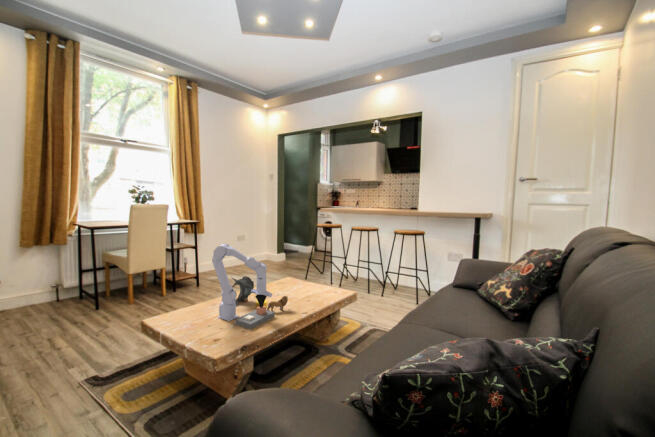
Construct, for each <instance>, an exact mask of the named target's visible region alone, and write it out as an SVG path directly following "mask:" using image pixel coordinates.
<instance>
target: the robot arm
mask: <svg viewBox="0 0 655 437" xmlns="http://www.w3.org/2000/svg"><path fill="white" fill-rule="evenodd" d="M231 256H232V257H234V258H236V259H237V260H239V261H241V262H243V263H244V265H245V266H246V267H247V268H249V269H250V270H252V271H254V272H255V274H256V286H255V287H256V288H253V289H252V290H251V294H255V299H256V300H257V303H258V307H263V306H265V301H266V299H267V297H269V298H271V297H273V293H272V292H270V291H267V270H268V266H267V264H266V263H264V262H262V261H258V260H257V259H255V257H254V256H247V255H245V254H244V253H243V252H240V251H239V250H237V249H236V248H235V247H234V246H232V245H230V244H228V243H227V242H226V243H222V244H220V245H219V246H217V247H215V249H214V250H213V256H212V261H211V263H212V265H213V268H214V271H215V273H216V277H217V279H218V282H219V285H220V288H221V292H220V293H221V302H220V304H219V307H218V312H219V314H218V316H217V318H219V319H222V320H225V321H227V322H231V321H232V320H235V319H237V318H239V317H240V315H238V314H236V312H237V308H236V307H237V306H236V301H235V299H236V298H237V297H238V296H237V292H236V290H235V289H234V287H232V286H233V285H231V283H230V280H229V277H228V273H227V270H226V268H225V265H224V262H223V260H224V258H225V257H231Z"/></svg>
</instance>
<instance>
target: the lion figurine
mask: <svg viewBox="0 0 655 437" xmlns="http://www.w3.org/2000/svg"><path fill="white" fill-rule="evenodd" d="M288 300H289V298H288V296H287V295H283V296H281V298H280V299H279V300H278V301H276V300H275V301H274V300H273V301H270V302H268V304H267V307H266V310H268V311H272V312H275V311H274V307H275V308H279V310H280V311H281V312H284V311H285V310H284V307H285V306H286V305H287V304H288ZM270 309H271V310H270Z"/></svg>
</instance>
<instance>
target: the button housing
mask: <svg viewBox="0 0 655 437" xmlns="http://www.w3.org/2000/svg"><path fill="white" fill-rule="evenodd" d="M248 315H251V316H254V319H253V320H251V321H247V320H244V317H246V316H248ZM273 318H275V311H274V312H272V311H271V310H270V311H268V310H267V309H266V313H265V314H263V315H259V314H256V309H254V310H252V311H250V312H248V313H246V314H244V315H241V316H239V317H237V318H235V319H234V325H236V326H239V327H242V328H245V329H247V330H253V329H255V328H257V327H258V326H261V325H262V324H265V323H266V322H268V321H269V320H272V319H273Z"/></svg>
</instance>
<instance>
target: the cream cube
mask: <svg viewBox="0 0 655 437" xmlns="http://www.w3.org/2000/svg"><path fill="white" fill-rule="evenodd" d="M253 319H254V316H251V315H248V316H246V317H244V320H247V321H251V320H253Z"/></svg>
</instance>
